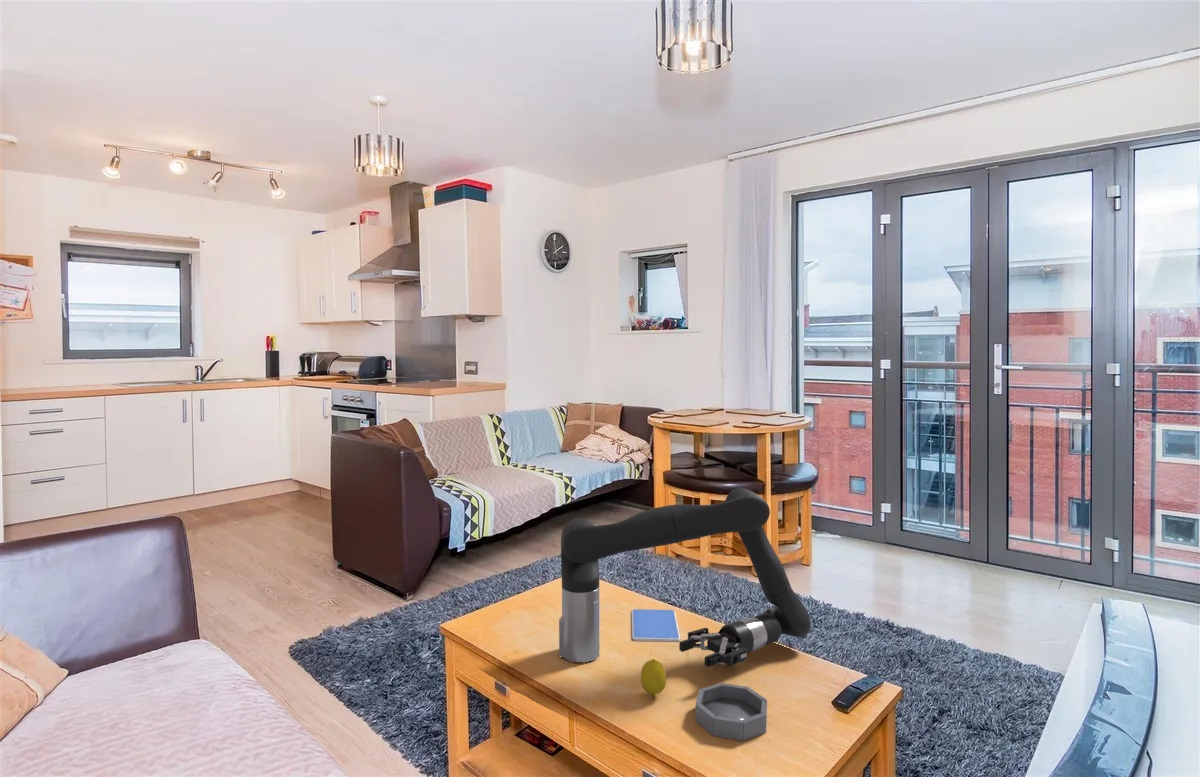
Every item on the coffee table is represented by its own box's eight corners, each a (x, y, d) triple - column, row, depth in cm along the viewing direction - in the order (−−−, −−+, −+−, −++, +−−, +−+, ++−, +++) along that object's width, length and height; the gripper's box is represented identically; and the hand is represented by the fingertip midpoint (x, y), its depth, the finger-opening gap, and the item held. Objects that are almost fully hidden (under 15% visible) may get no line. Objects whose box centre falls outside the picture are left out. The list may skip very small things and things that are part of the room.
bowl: (692, 732, 122) (692, 714, 122) (701, 695, 136) (701, 679, 135) (765, 744, 118) (765, 726, 118) (767, 705, 132) (767, 689, 131)
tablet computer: (631, 612, 181) (631, 608, 181) (675, 613, 181) (675, 608, 181) (632, 643, 162) (632, 638, 162) (680, 643, 161) (680, 638, 161)
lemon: (664, 703, 132) (664, 666, 132) (638, 700, 134) (638, 664, 133) (667, 690, 138) (667, 654, 137) (642, 687, 139) (642, 652, 139)
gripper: (722, 611, 156) (672, 627, 147) (766, 632, 144) (714, 650, 135) (722, 640, 156) (672, 658, 148) (766, 664, 145) (714, 684, 136)
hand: (692, 654), depth 141 cm, fingers open, 8 cm apart
